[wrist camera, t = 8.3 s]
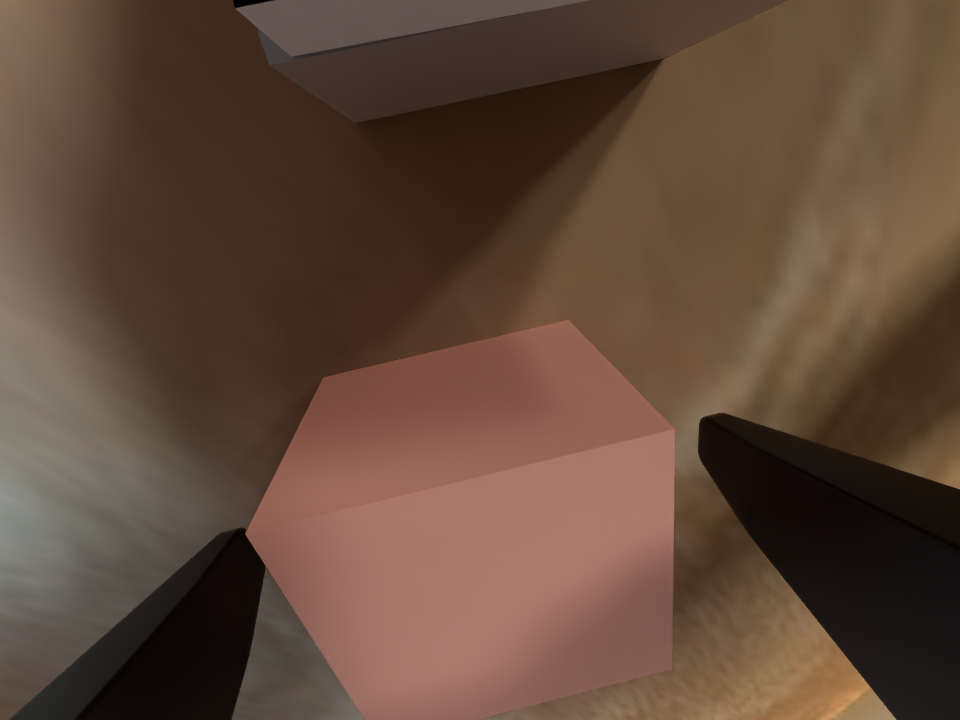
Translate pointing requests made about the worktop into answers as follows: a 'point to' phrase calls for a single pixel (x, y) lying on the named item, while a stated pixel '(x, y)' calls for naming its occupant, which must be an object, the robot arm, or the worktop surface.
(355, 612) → the coral brick
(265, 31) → the white brick
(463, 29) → the charcoal brick
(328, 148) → the worktop surface
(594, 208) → the worktop surface
